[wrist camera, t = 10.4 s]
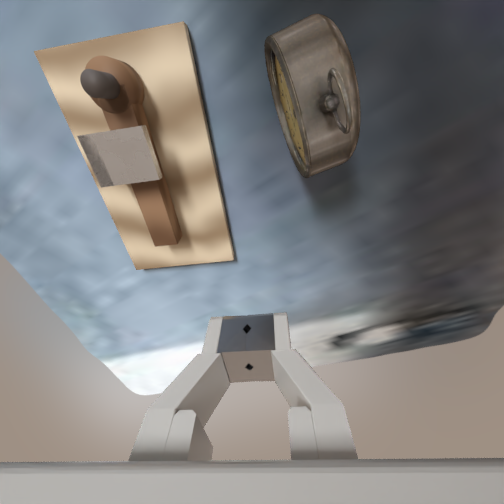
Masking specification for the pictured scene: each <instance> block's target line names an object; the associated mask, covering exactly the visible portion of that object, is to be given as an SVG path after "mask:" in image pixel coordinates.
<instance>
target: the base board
mask: <svg viewBox="0 0 504 504" xmlns="http://www.w3.org/2000/svg"><path fill="white" fill-rule="evenodd" d="M34 53H35V55H36V57H37V59H38V61H39V63H40V65H41V67H42V70H43V72H44V74H45V76H46V78H47V80H48V82H49V85H50V87H51V89H52V91H53V93H54V95H55V97H56V99H57V102H58V104H59V106H60V108H61V110H62V112H63V114H64V116H65V119H66V121H67V123H68V125H69V127H70V129H71V131H72V133H73V136H74V138H75V140H76V142H77V144H78V146H79V148H80V151H81V153H82V155H83V157H84V159H85V161H86V163H87V165H88V168H89V170H90V172H91V174H92V176H93V178H94V180H95V182H96V185H97V187H98V189H99V191H100V193H101V195H102V197H103V200H104V202H105V204H106V206H107V208H108V210H109V212H110V214H111V217H112V219H113V221H114V223H115V225H116V227H117V229H118V231H119V234H120V236H121V238H122V240H123V242H124V244H125V246H126V249H127V251H128V253H129V255H130V257H131V259H132V261H133V263H134V266H135V268H136V270H140V269H150V268H160V267H170V266H180V265H190V264H201V263H211V262H221V261H231V260H234V251H233V247H232V242H231V237H230V232H229V227H228V222H227V217H226V213H225V208H224V203H223V198H222V193H221V188H220V183H219V178H218V174H217V169H216V164H215V159H214V154H213V149H212V144H211V140H210V135H209V130H208V125H207V120H206V115H205V110H204V105H203V101H202V96H201V91H200V86H199V81H198V76H197V71H196V67H195V62H194V57H193V52H192V47H191V42H190V37H189V32H188V28H187V25H186V24H185V23H184V21H183V22H178V23H173V24H168V25H163V26H158V27H153V28H148V29H143V30H138V31H133V32H128V33H123V34H118V35H113V36H108V37H103V38H98V39H93V40H88V41H83V42H78V43H73V44H68V45H63V46H58V47H53V48H48V49H43V50H38V51H34ZM96 56H108V57H111V58H114V59H117V60H120V61H123V62H125V63H127V64H129V65H130V66H131V67H132V68H134V70H135V71H136V72H137V73H138V75H139V76H140V78H141V80H142V83H143V86H144V101H143V104H142V105H143V108H144V112H145V115H146V118H147V121H148V125H149V128H150V131H151V134H152V138H153V141H154V144H155V147H156V150H157V154H158V157H159V160H160V163H161V167H162V170H163V173H164V176H165V180H166V183H167V186H168V189H169V193H170V196H171V199H172V202H173V205H174V209H175V212H176V215H177V218H178V222H179V225H180V228H181V231H182V235H183V236H182V238H181V239H180V241H179V243H178V244H177V245H167V246H157V247H155V246H154V243H153V240H152V238H151V235H150V233H149V230H148V227H147V225H146V222H145V220H144V217H143V214H142V212H141V209H140V207H139V204H138V202H137V199H136V196H135V194H134V191H133V189H132V186H131V184H124V185H116V186H109V187H102V188H101V187H100V185H99V182H98V180H97V178H96V176H95V174H94V172H93V169H92V167H91V165H90V163H89V161H88V159H87V157H86V154H85V152H84V150H83V148H82V146H81V144H80V141H79V139H78V137H77V136H80V135H86V134H92V133H98V132H105V131H110V129H109V127H108V124H107V121H106V119H105V116H104V114H103V111H102V109H101V108H100V107H99V106H98V105H97V104H96V103H95V102H94V101H93V100H92V98H91V97H90V96H89V95H88V94H87V93H86V92H85V91H84V89H83V88H82V85H81V82H80V76H81V73H82V72H83V71H84V70H85V67H86V65H87V63H88V62H89V61H90V60H91V59H92V58H93V57H96Z"/></svg>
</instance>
